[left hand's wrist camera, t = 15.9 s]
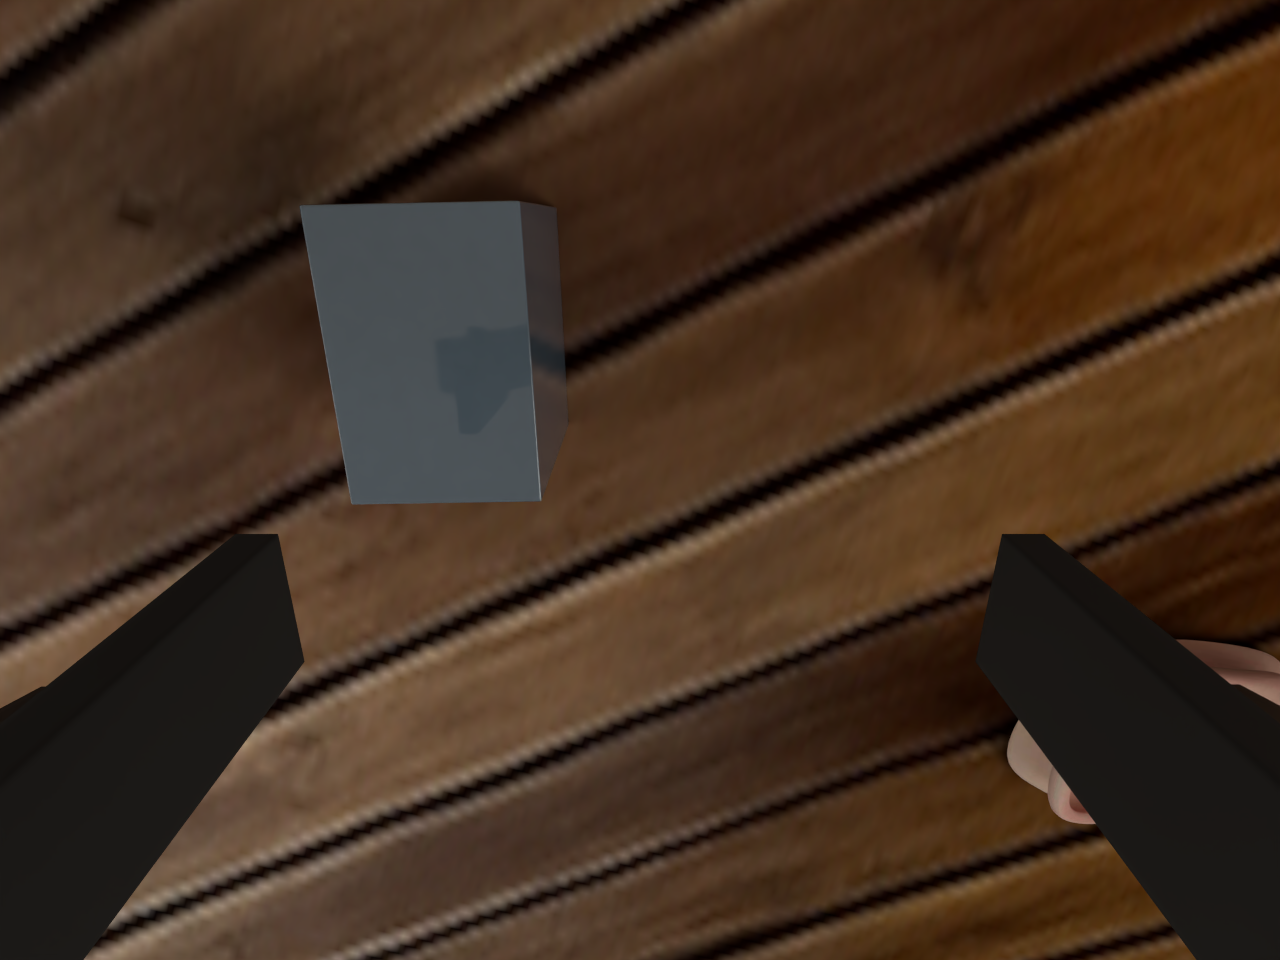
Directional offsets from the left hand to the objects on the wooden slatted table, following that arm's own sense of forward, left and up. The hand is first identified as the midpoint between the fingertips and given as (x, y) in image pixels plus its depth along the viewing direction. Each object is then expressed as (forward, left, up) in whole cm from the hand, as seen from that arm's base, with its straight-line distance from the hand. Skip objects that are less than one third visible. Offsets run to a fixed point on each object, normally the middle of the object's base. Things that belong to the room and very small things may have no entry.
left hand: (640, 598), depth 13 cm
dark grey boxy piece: (-4, +5, -16) cm, 17 cm away
